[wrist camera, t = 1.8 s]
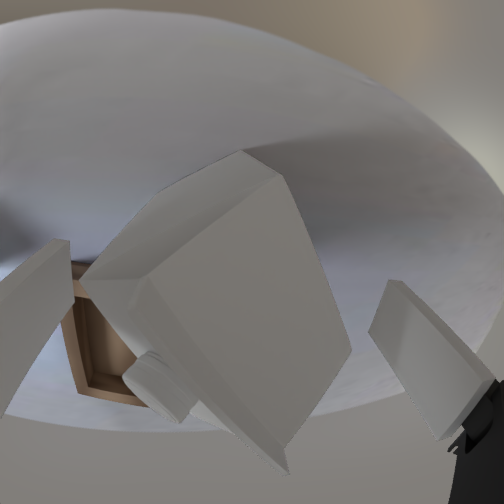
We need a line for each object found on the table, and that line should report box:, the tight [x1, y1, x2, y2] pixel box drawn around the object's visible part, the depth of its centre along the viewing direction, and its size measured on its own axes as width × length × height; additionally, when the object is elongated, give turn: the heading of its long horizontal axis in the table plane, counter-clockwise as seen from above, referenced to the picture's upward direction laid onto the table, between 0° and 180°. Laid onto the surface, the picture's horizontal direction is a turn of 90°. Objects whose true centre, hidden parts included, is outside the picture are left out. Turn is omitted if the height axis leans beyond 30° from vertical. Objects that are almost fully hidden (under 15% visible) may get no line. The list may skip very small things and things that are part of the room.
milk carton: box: [79, 150, 352, 476], centre depth 15 cm, size 7×7×19 cm
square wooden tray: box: [61, 261, 150, 408], centre depth 26 cm, size 14×14×3 cm
